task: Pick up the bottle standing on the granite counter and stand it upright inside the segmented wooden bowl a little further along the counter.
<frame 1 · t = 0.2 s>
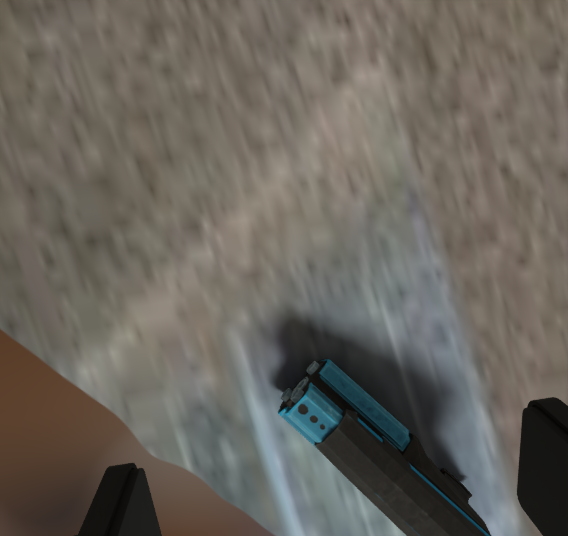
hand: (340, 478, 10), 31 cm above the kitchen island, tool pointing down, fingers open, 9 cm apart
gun: (379, 431, 48), on the kitchen island
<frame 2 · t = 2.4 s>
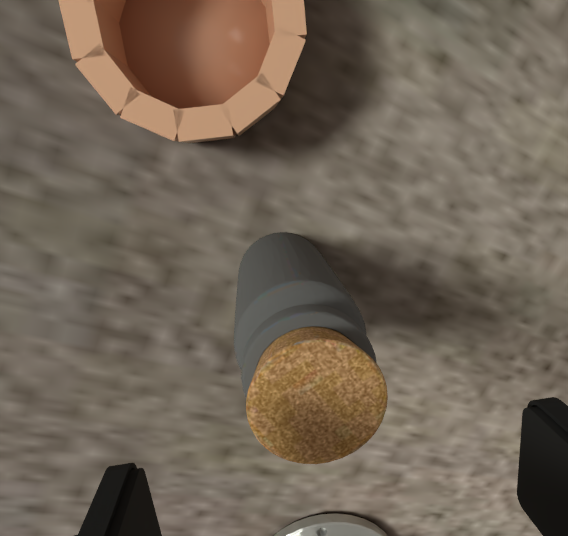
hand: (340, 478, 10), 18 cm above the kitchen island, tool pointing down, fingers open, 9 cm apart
bottle: (281, 273, 28), on the kitchen island
segmented wooden bowl: (198, 40, 24), on the kitchen island
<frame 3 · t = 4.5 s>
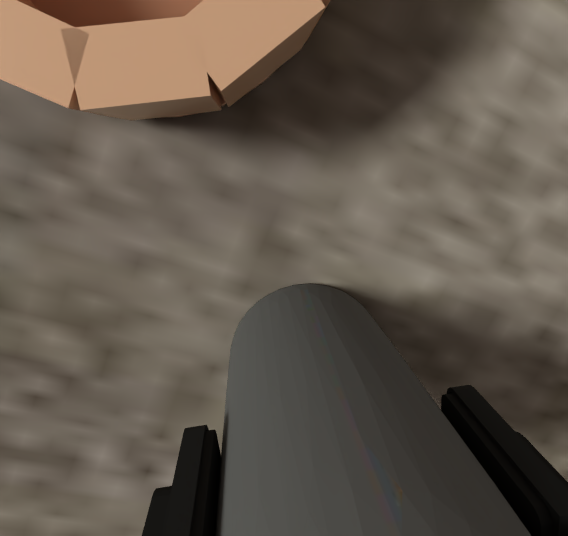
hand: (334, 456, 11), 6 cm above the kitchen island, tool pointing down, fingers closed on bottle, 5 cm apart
bottle: (304, 350, 16), on the kitchen island, touching gripper
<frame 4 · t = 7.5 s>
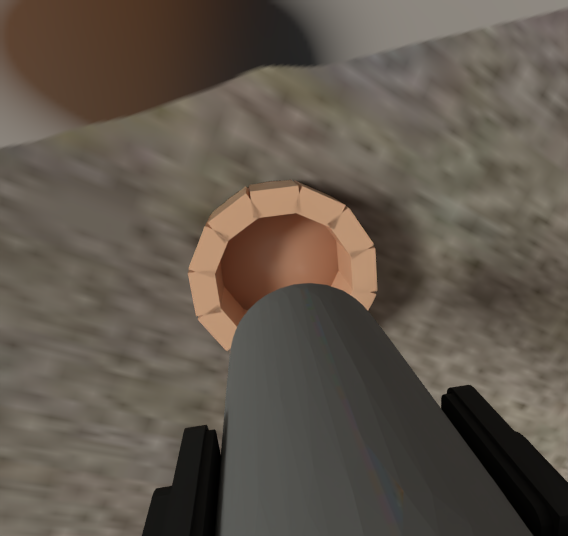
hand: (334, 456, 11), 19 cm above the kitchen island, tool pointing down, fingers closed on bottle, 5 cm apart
bottle: (304, 349, 16), point 13 cm above the kitchen island, touching gripper
segmented wooden bowl: (279, 260, 29), on the kitchen island
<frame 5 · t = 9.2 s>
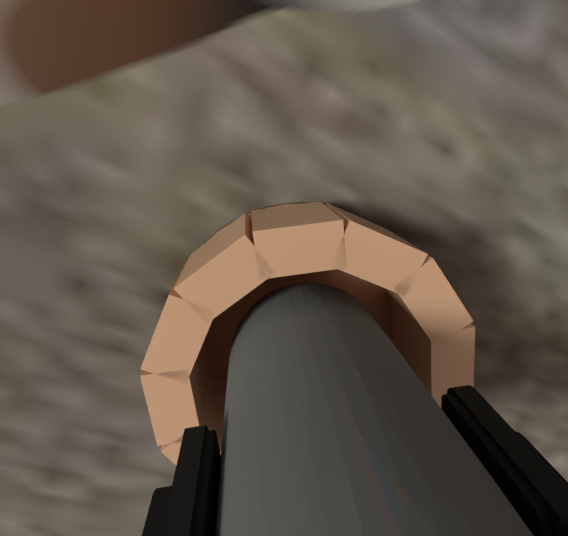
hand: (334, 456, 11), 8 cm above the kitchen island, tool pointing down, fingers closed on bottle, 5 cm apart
bottle: (304, 349, 16), point 2 cm above the kitchen island, touching gripper
segmented wooden bowl: (297, 326, 18), on the kitchen island
when the fingers open (7 cm above the kitchen island, at t = 10.4 s): bottle stays where it is, resting on segmented wooden bowl.
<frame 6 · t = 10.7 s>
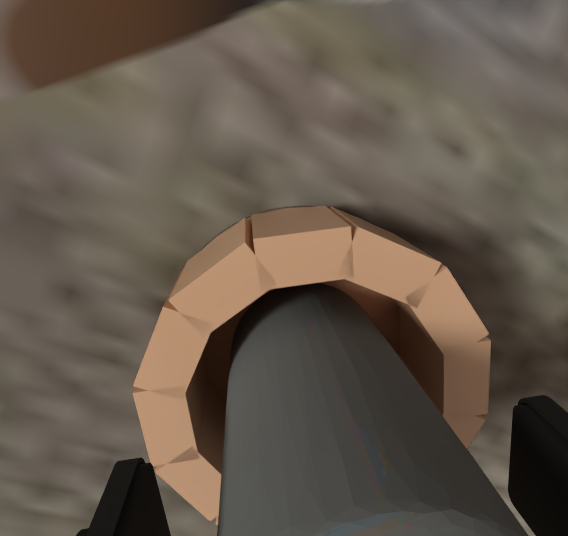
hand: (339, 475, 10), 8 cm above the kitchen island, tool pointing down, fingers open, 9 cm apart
bottle: (302, 345, 17), point 1 cm above the kitchen island, touching segmented wooden bowl
segmented wooden bowl: (300, 335, 17), on the kitchen island
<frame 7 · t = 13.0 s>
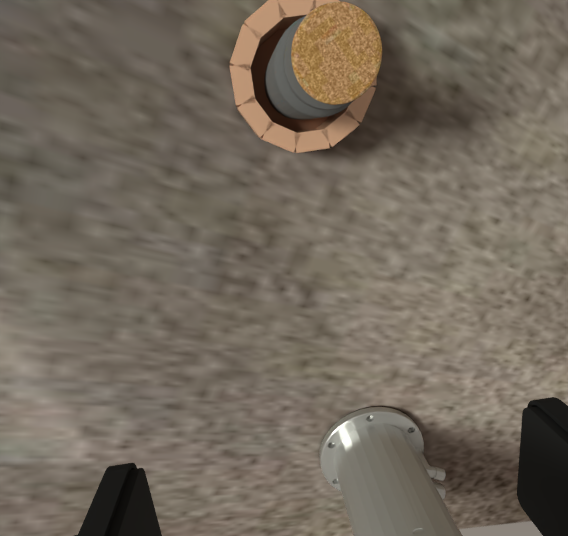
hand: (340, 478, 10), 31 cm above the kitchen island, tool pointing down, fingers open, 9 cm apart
bottle: (297, 83, 35), point 1 cm above the kitchen island, touching segmented wooden bowl
segmented wooden bowl: (296, 82, 36), on the kitchen island
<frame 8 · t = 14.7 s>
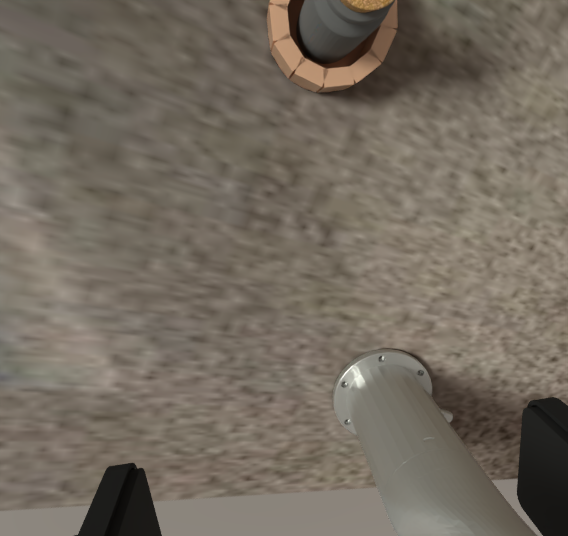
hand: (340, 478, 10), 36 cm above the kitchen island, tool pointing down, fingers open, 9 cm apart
bottle: (325, 31, 39), point 1 cm above the kitchen island, touching segmented wooden bowl
segmented wooden bowl: (324, 31, 40), on the kitchen island
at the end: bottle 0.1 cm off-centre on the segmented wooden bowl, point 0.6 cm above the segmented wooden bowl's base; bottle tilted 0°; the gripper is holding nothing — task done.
